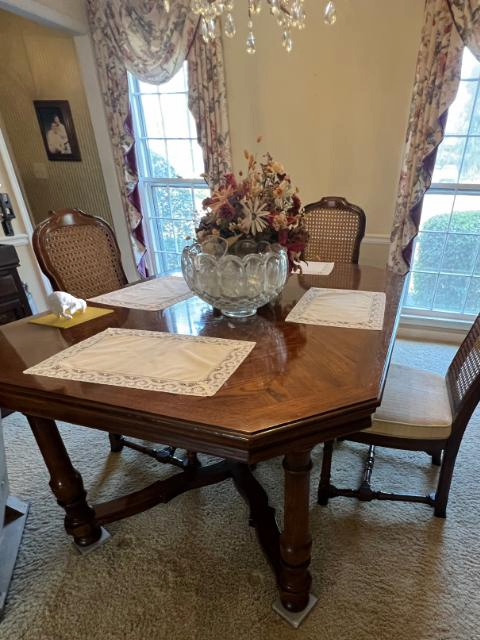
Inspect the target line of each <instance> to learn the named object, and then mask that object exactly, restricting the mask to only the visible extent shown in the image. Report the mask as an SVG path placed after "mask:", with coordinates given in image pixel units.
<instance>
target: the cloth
mask: <svg viewBox="0 0 480 640" xmlns="http://www.w3.org/2000/svg"><path fill="white" fill-rule="evenodd" d="M114 312H115V310H113V309H108V308H101V307H93V306H87V305H86V309H85V311H84V312H79V311H78V310H76V311H75V312H74V313H73V314H71V313H70V311H68V310H65V314H68V315H70V316H72V319H66V318H64V317H63V316H61V317H60V318H59V317H57V316H55V315H54V313H53V312H52V313H50V314H47V315H44V316H40V317H37V318H34V319H31V320H27V323H28V324H29V323H30V324H35V325H41V326H47V327H52V328H58V329H69V328H71V327H75V326H76V325H80V324H82V323H86V322H88V321H91V320H95V319H96V318H100V317H102V316H105V315H108V314H110V313H114Z"/></svg>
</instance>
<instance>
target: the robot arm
mask: <svg viewBox="0 0 480 640" xmlns="http://www.w3.org/2000/svg"><path fill="white" fill-rule="evenodd" d="M0 188H1V185H0ZM16 218H17V216H16V213H15V210H14V207H13V205H12V201H11V198H10V196H9V194H8V193H6V192H0V224H1V228H2V231H3V234H4V236H5V237H9V238H10V237H15V231H14V228H13V224H12V221H13V219H16Z"/></svg>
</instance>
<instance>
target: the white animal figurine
mask: <svg viewBox="0 0 480 640" xmlns="http://www.w3.org/2000/svg"><path fill="white" fill-rule="evenodd" d="M46 305H47V306H48V307H49V309H50V311H51V313H52V314H53V313H54V315H55V316H57V317H59V318H60V317H61V316H63V317H64V318H66V319H72V316H70V315H68V314H65V310H68V311H70V313H71V314H73V313H74V312H75V311H76V310H78V311H79V312H84V311H85V309H86V306H87V302H86V301H85V300H84V299H83V298H76V297H75V296H73V295H72V294H70V293H68V292H65V291H59V290H57V291H53V292H51V293H49V294H48V296H47V301H46Z"/></svg>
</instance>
